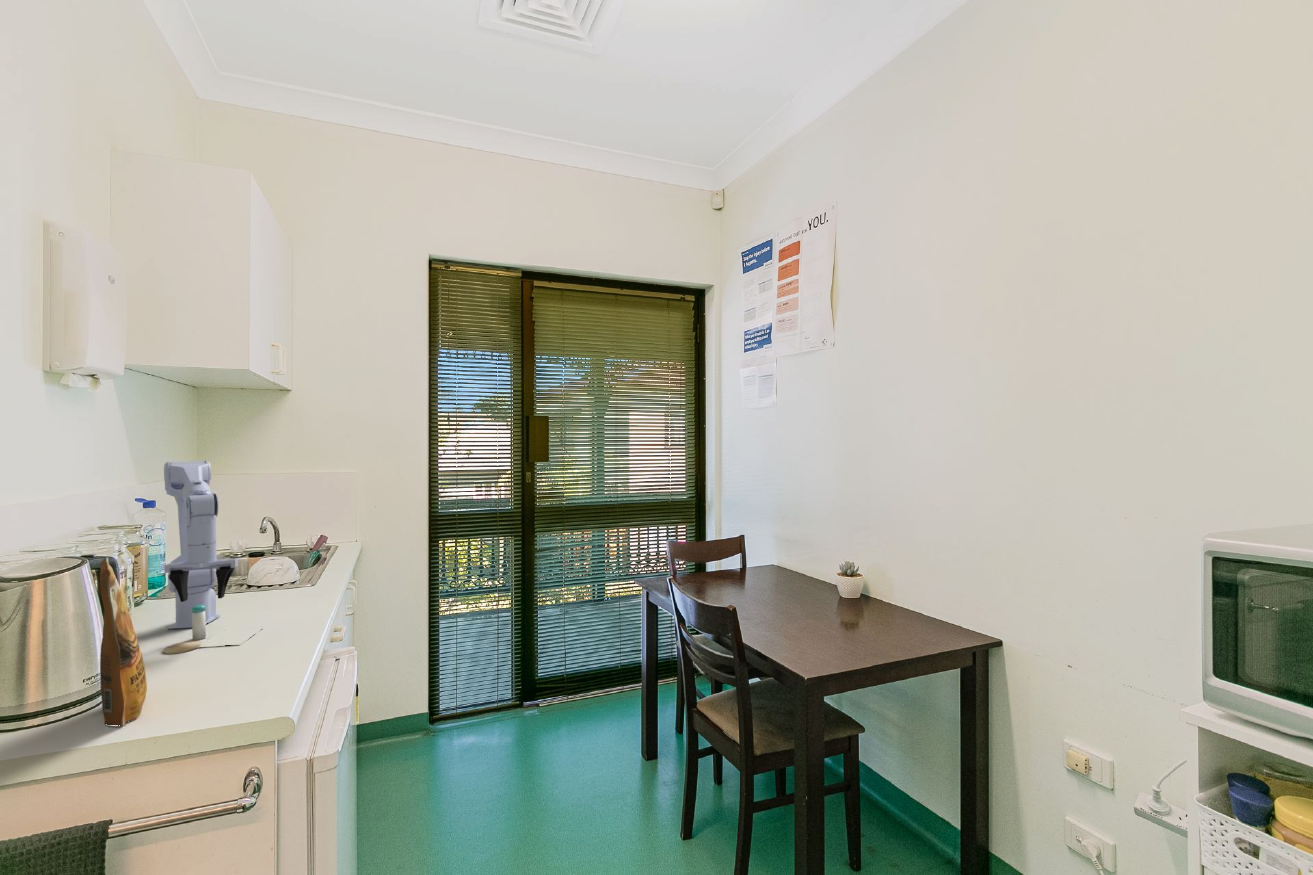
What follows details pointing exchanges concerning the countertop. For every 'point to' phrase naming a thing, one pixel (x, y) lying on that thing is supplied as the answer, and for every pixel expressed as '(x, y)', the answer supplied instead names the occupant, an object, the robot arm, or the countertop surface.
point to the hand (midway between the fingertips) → (202, 599)
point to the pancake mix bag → (119, 656)
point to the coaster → (181, 647)
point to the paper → (220, 643)
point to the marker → (198, 622)
